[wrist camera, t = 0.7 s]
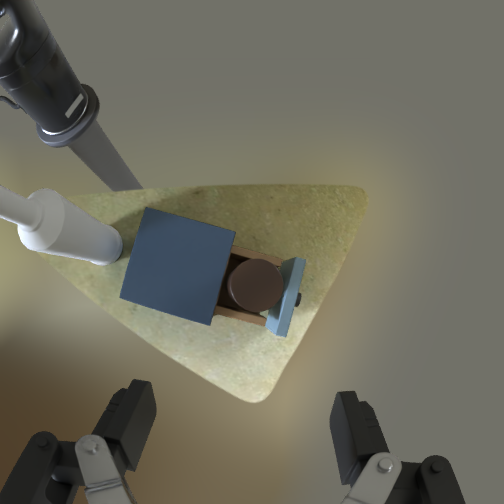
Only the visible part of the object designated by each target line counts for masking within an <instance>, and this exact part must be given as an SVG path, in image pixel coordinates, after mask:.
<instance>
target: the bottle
mask: <svg viewBox="0 0 504 504" xmlns="http://www.w3.org/2000/svg"><path fill="white" fill-rule="evenodd" d="M0 218H3V219H5V220H8V221H11V222H13V223H16V224H18V233H19V236H20V239H21V241H22V243H23V244H24V245H25V246H26V247H27V248H28V249H30V250H34V251H38V252H44V253H49V254H54V255H59V256H65V257H70V258H76V259H82V260H87V261H91V262H93V263H94V264H98V265H108V264H112V263H113V262H114V261H116V260H117V259H118V258H119V256H120V254H121V252H122V247H123V244H122V238H121V236H120V234H119V233H118V231H117V230H116V229H114V228H113V227H111V226H110V225H106V224H103V223H101V222H100V221H98V220H97V219H95V218H94V217H92V216H91V215H89V214H88V213H86V212H85V211H83V210H82V209H80V208H79V207H77V206H76V205H74V204H73V203H71V202H70V201H68V200H67V199H65V198H64V197H62V196H61V195H60V194H58V193H57V192H55V191H54V190H52V189H45V188H43V189H41V190H38V191H35V192H34V193H33V194H31V195H30V196H29V197H28V198H27V199H26V198H24V197H22V196H21V195H18V194H17V193H15V192H13V191H11V190H9V189H7V188H5V187H3V186H1V185H0Z"/></svg>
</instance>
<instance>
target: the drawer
mask: <svg viewBox="0 0 504 504" xmlns="http://www.w3.org/2000/svg"><path fill="white" fill-rule="evenodd" d="M255 258H259V259H264V260H267V261H269V262H271V263H272V264H274V265H275V266H276V267H277V268H278V267H281V268H280V273H281V275H282V278H283V292H282V295H281V297H280V299H279V300H278V302H277V303H276V304H275V305H274V306H273V307H271V308H270V310H269V313H268V317H267V319H266V318H265V317H263V316H262V315H260V312H253V311H249V310H246V309H244V308H242V307H241V306H240V305H239V304H237V303H236V302H235V301H233V300H232V299H231V298H230V297H229V295H228V294H227V291H226V280H227V277H228V276H229V274H230V273H231V272H232V271H233V270H235V269H236V268H237V267H238V266H239V265H240V264H241V263H243V262H245V261H247V260H250V259H255ZM305 263H306V260H305V259H302V258H298V257H294V258H292V259H289V260H286V261H284V262H282V259H280V258H276V257H273V256H269V255H266V254H262V253H258V252H255V251H251V250H248V249H244V248H241V247H237V246H234V245H232V247H231V251H230V255H229V258H228V262H227V265H226V269H225V273H224V276H223V280H222V283H221V287H220V291H219V294H218V298H217V302H216V306H215V309H214V313H215V314H219V315H223V316H226V317H230V318H234V319H238V320H242V321H246V322H249V323H253V324H257V325H261V326H265V327H266V328H268V329H269V330H270V331H271V332H273V333H274V334H275V335H278V336H282V337H286V336H287V332H288V329H289V325H290V322H291V318H292V314H293V310H294V307H298V306H299V304H300V301H301V293H298V291H299V287H300V283H301V279H302V275H303V271H304V267H305Z"/></svg>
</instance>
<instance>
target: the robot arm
mask: <svg viewBox="0 0 504 504" xmlns="http://www.w3.org/2000/svg"><path fill="white" fill-rule="evenodd" d="M5 14H8V15H9V17H8V19H7V21H6V23H5V24H4V26H3V27H2V28H1V30H0V85H1V86H2V87H3V88H4V89H5V90H6V91H7V92H8V93H9V94H10V95H11V97H12V98H13V99H14V100H15V101H16V103H17V104H15V103H14V102H13V101H11V100H10V99H9V98H7V97H5V96H0V101H4V102H6V103H7V104H8V105H10V106H11V107H12V108H14V109H19V108H22V109H23V110H24V111H25V113H28V114H29V115H30V117H31V118H32V119H33V120H34V121H35V122H36V123H37V124H38V125H39V126H40V127H41V128H42V130H43V131H44V132H45V133H46V134H48V135H51V136H59V135H62V134H65V133H67V132H69V131H70V130H72V129H73V128H74V127H76V126H77V125H78V124H79V123H80V122H81V120H82V119H83V118H84V116H85V114H86V112H87V110H88V107H89V97H88V94H87V93H86V91H85V90H84V89H83V87H82V86H81V84H80V82H79V80H78V79H77V77H76V75H75V74H74V72H73V70H72V68H71V67H70V65H69V63H68V61H67V60H66V58H65V57H64V55H63V53H62V51H61V49H60V47H59V46H58V44H57V42H56V40H55V39H54V37H53V35H52V33H51V31H50V29H49V28H48V26H47V24H46V22H45V20H44V19H43V17H42V15H41V13H40V11H39V9H38V7H37V5H36V3H35V1H34V0H0V18H1V17H2V16H3V15H5ZM155 417H156V403H155V398H154V394H153V389H152V385H151V382H148V381H142V380H136V379H134V380H132V382H131V384H130V386H129V387H128V389H125V388H122V389H120V390H119V391H118V392H116V393H115V394H114V395H113V397H112V399H111V400H110V402H109V404H108V406H107V407H106V410H105V411H104V413H103V414H102V416H101V418H100V420H99V422H98V423H97V425H96V427H95V429H94V430H93V432H92V434H91V435H86V436H83V437H81V438H80V439H79V440H78V441H77V442H68V441H58V440H57V438H56V437H55V436H54V435H53V434H52V433H50V432H45V431H42V432H38V433H36V434H34V435H33V436H32V438H31V439H30V441H29V442H28V444H27V446H26V447H25V449H24V451H23V452H22V454H21V456H20V458H19V459H18V461H17V463H16V465H15V467H14V468H13V470H12V472H11V474H10V475H9V477H8V479H7V481H6V483H5V485H4V487H3V489H2V491H1V493H0V504H72V503H73V500H74V498H75V495H76V493H77V490H78V487H79V486H86V488H85V489H84V490H85V495H86V498H87V500H88V503H89V504H137V502H136V500H135V498H134V496H133V494H132V492H131V490H130V488H129V486H128V484H127V482H126V479H125V477H124V475H125V472H126V470H130V471H134V472H135V470H136V467H137V464H138V462H139V459H140V457H141V453H142V451H143V448H144V446H145V443H146V441H147V438H148V435H149V433H150V430H151V427H152V425H153V422H154V420H155ZM330 430H331V434H332V439H333V444H334V448H335V453H336V458H337V462H338V468H339V473H340V478H341V483H342V485H346V484H350V486H351V490H350V492H349V493H348V494H347V496H346V497H345V498H344V500H343V501H342V503H341V504H465V501H464V498H463V495H462V493H461V490H460V487H459V485H458V482H457V480H456V477H455V474H454V472H453V470H452V467H451V464H450V463H449V461H448V460H447V459H446V458H444V457H442V456H438V455H433V456H430V457H427V458H426V459H425V460H424V461H423V462H422V463H410V462H403V461H400V459H399V458H398V457H397V456H395V455H394V454H391V453H390V452H389V449H388V447H387V444H386V441H385V439H384V436H383V433H382V431H381V428H380V426H379V423H378V420H377V419H376V415H375V412H374V410H373V408H372V407H371V406H370V405H369V404H368V403H367V402H366V401H362V402H359V400H358V398H357V395H356V393H355V391H344V392H337V394H336V397H335V400H334V404H333V408H332V411H331V415H330Z"/></svg>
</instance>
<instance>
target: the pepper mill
mask: <svg viewBox="0 0 504 504" xmlns="http://www.w3.org/2000/svg"><path fill="white" fill-rule="evenodd" d="M226 291H227V294H228V295H229V297H230V298H231V299H232V300H233V301H235V302H236V303H237V304H239V305H240V306H241V307H242V308H244V309H246V310H249V311H253V312H261V311H265V310H268V309H270V308H271V307H273V306H274V305H275V304H276V303H277V302H278V300H279V299H280V297H281V295H282V292H283V278H282V275H281V273H280V271H279V270H278V268H277V267H276V266H275V265H274V264H272V263H271V262H269V261H267V260H264V259H259V258H255V259H250V260H247V261H245V262H243V263H241V264H240V265H239V266H238V267H237V268H236V269H235V270H233V271H232V272H231V273H230V274H229V276H228V277H227V280H226Z"/></svg>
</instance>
